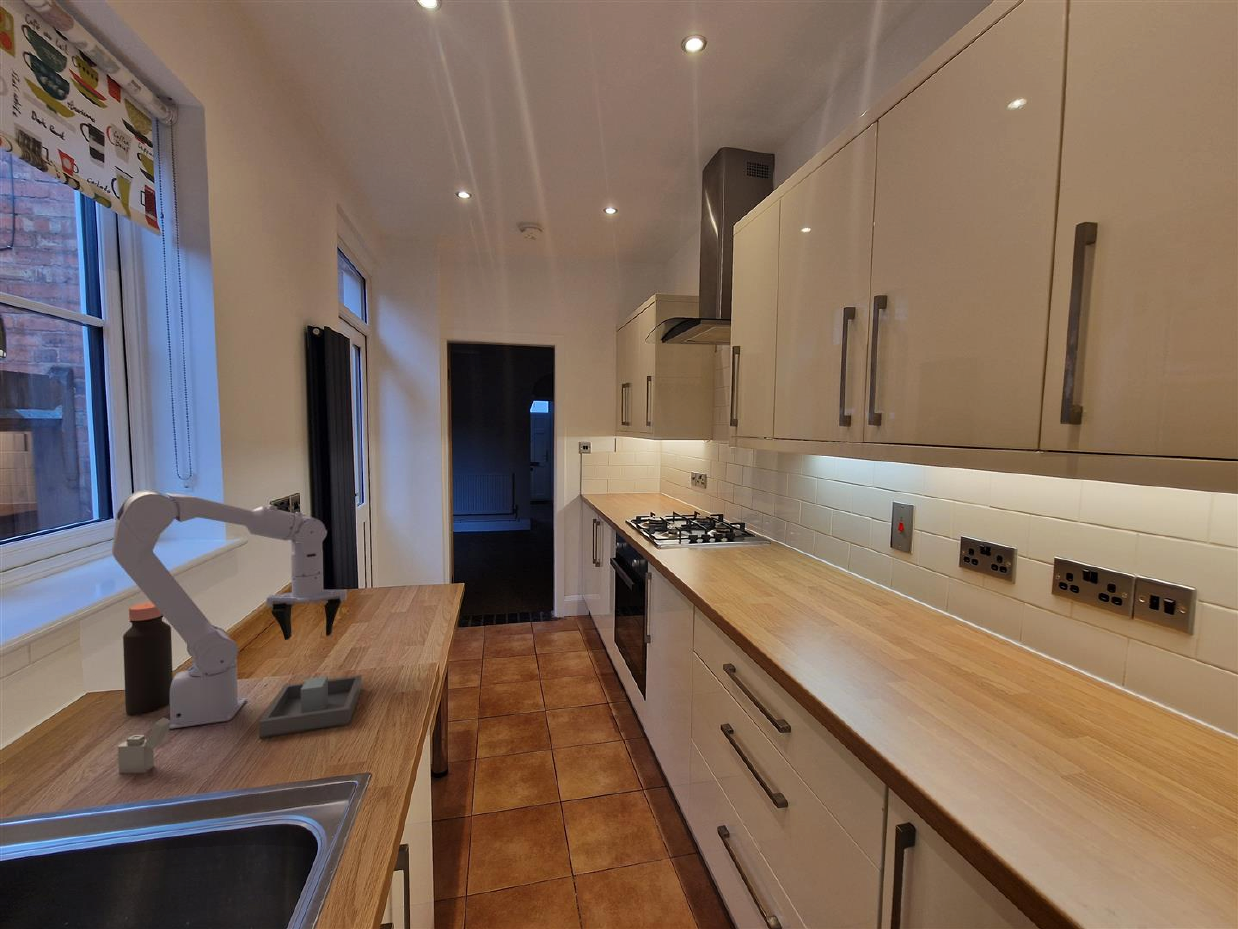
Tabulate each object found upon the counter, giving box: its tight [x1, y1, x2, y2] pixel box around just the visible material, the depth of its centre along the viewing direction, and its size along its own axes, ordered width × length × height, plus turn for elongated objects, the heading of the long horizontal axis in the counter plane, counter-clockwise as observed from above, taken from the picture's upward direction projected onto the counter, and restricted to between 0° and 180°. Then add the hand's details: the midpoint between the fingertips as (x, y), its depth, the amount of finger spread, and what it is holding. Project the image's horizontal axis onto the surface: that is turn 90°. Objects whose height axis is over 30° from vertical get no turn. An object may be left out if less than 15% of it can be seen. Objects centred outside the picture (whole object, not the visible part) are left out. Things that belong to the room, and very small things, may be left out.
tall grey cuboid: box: [301, 676, 329, 713], centre depth 96 cm, size 4×4×6 cm
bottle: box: [122, 601, 174, 715], centre depth 97 cm, size 7×7×20 cm
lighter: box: [117, 717, 172, 774], centre depth 79 cm, size 7×2×8 cm, turn 91°
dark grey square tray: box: [258, 675, 363, 740], centre depth 96 cm, size 14×14×3 cm
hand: (308, 636), depth 107 cm, fingers open, 7 cm apart
